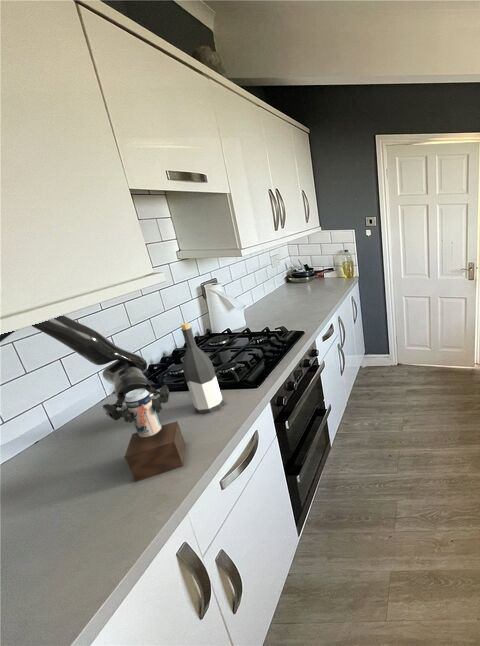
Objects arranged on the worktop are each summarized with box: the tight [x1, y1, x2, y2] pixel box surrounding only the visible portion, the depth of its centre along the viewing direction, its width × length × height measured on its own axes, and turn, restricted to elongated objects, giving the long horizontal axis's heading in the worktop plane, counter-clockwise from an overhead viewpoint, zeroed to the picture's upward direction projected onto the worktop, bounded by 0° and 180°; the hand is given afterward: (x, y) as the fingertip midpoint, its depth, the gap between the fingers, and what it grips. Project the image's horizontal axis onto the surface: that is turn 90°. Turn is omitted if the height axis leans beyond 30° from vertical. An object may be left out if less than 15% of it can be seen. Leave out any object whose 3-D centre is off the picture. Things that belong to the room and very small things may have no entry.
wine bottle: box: [180, 322, 224, 415], centre depth 111 cm, size 8×8×30 cm
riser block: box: [124, 420, 186, 482], centre depth 92 cm, size 10×10×8 cm
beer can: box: [125, 388, 162, 437], centre depth 88 cm, size 5×5×12 cm
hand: (144, 414), depth 86 cm, fingers closed on beer can, 4 cm apart
